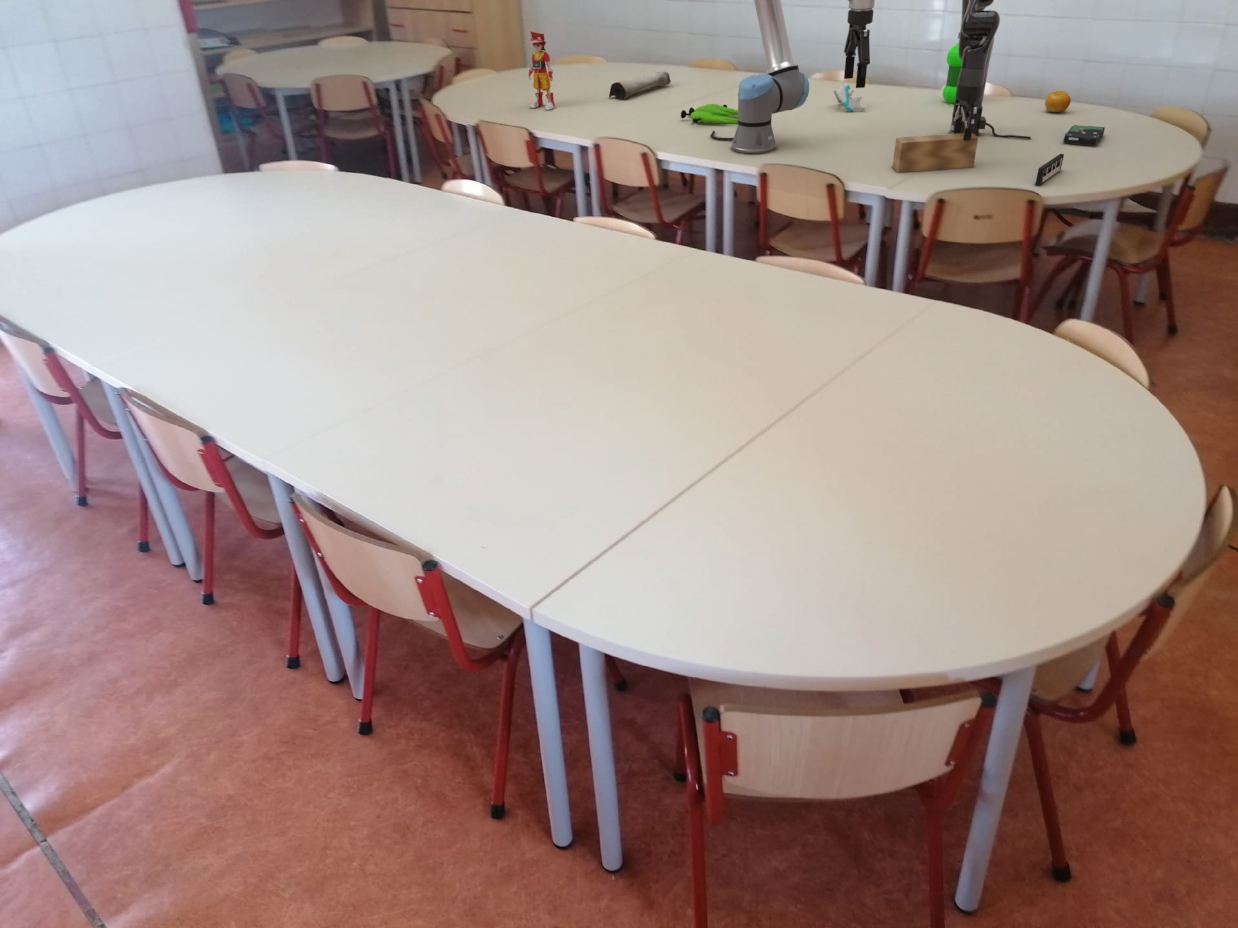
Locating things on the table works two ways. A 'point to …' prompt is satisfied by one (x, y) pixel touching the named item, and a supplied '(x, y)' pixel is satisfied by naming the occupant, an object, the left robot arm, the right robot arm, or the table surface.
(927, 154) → the box
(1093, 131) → the disk drive
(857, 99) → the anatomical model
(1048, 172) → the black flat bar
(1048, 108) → the fruit
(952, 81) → the plastic bottle
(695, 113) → the toy
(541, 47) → the toy
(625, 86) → the rolled mat
